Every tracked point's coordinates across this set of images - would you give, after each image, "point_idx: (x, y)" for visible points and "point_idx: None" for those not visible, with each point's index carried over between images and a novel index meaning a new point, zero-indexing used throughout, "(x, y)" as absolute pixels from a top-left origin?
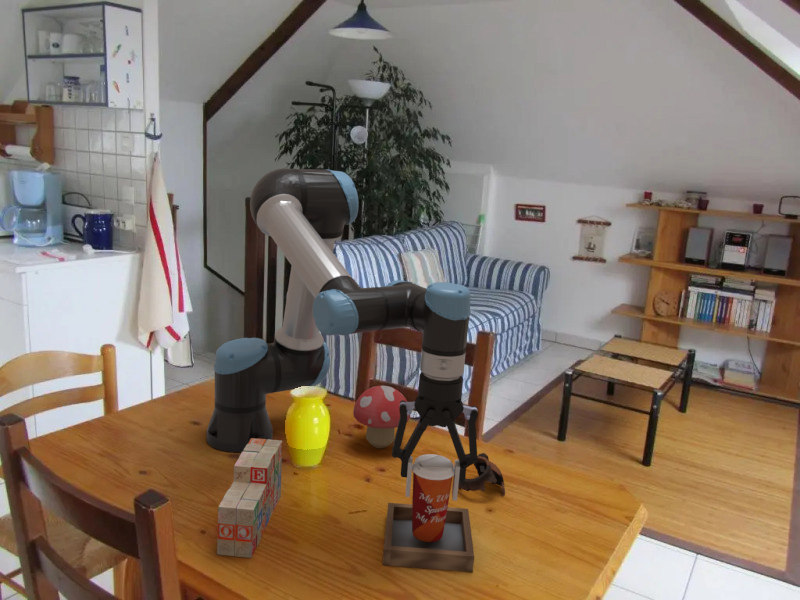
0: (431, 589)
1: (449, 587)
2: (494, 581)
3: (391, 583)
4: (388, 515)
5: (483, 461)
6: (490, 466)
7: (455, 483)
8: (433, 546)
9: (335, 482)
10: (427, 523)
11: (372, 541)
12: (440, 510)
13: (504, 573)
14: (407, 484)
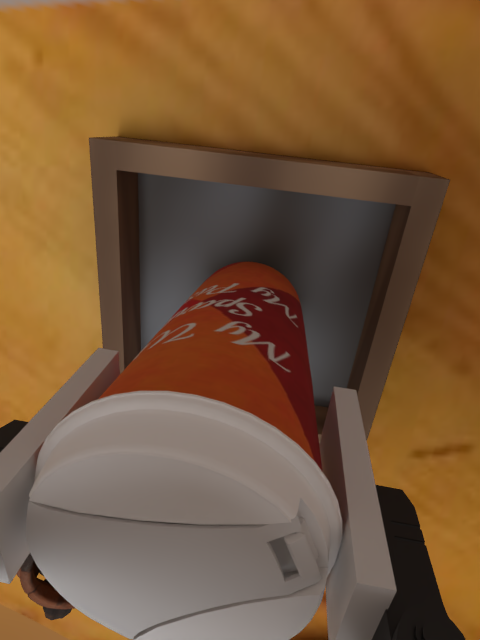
0: (270, 16)
1: (202, 34)
2: (47, 83)
3: (421, 50)
4: (375, 393)
5: (43, 588)
6: (21, 566)
7: (62, 408)
8: None
9: (472, 570)
10: (252, 283)
11: (431, 308)
12: (187, 308)
13: (17, 132)
14: (359, 438)
